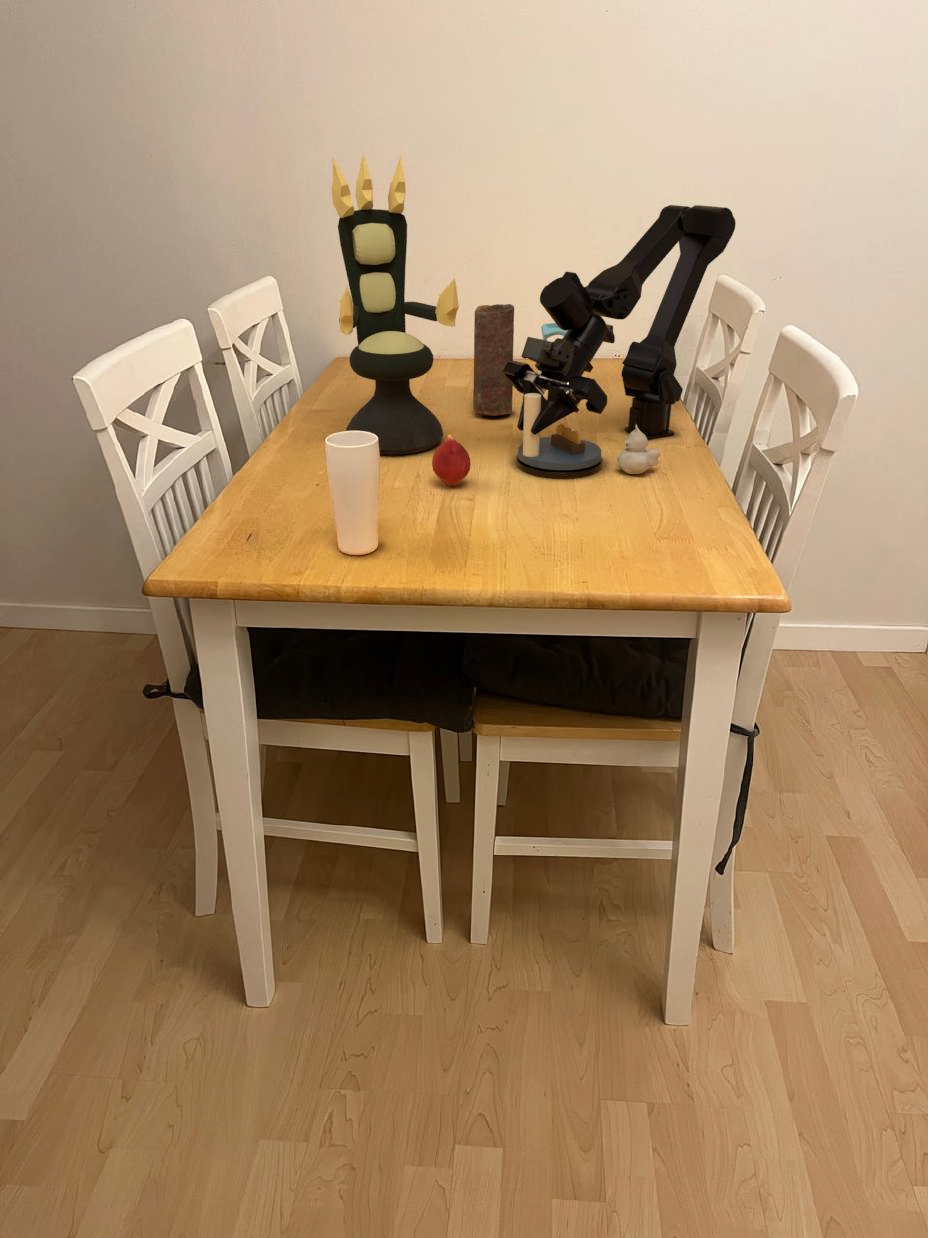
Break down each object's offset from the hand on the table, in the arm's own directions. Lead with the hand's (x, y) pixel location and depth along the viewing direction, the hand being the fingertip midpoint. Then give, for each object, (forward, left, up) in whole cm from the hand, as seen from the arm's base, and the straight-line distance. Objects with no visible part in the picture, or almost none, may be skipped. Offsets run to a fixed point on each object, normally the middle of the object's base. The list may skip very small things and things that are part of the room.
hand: (525, 430), depth 150 cm
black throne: (+13, -25, -7) cm, 29 cm away
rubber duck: (-16, +9, -7) cm, 19 cm away
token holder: (-7, 0, -5) cm, 8 cm away
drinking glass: (+34, +17, -7) cm, 39 cm away
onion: (+13, +1, -7) cm, 15 cm away
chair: (-33, -46, -7) cm, 57 cm away
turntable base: (-7, 0, -7) cm, 9 cm away
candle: (-10, -30, -7) cm, 32 cm away
